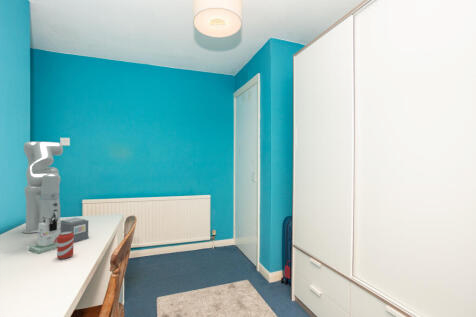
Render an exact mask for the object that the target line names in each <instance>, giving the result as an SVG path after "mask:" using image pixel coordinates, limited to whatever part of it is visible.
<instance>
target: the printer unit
mask: <svg viewBox="0 0 476 317" xmlns="http://www.w3.org/2000/svg"><path fill="white" fill-rule="evenodd" d="M60 220H61V219H60ZM65 231H72V233H73V234H74V243H78V242H81V241H84V240H87V239H89V220H88V219H85V218H81V217H80V218H79V217H72V218H66V219H62V220H61V232H65Z"/></svg>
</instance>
